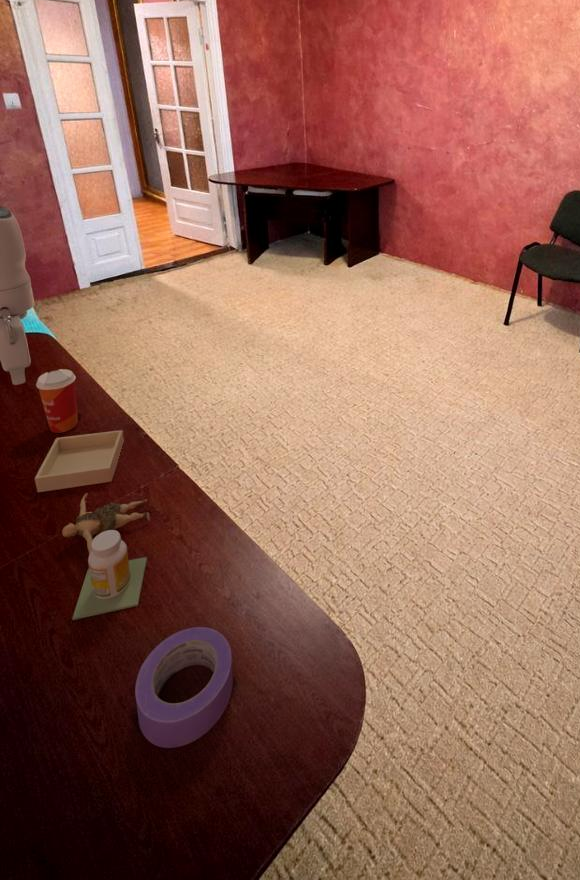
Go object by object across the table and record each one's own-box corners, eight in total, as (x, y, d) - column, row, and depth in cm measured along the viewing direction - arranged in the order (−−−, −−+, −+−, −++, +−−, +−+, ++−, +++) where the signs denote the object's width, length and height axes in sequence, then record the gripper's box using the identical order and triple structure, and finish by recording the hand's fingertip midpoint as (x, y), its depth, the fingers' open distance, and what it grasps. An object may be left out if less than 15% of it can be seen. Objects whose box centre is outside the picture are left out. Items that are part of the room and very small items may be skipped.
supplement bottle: (94, 606, 76) (86, 560, 73) (92, 580, 80) (84, 535, 77) (133, 589, 79) (126, 544, 76) (128, 565, 83) (122, 521, 80)
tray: (37, 492, 97) (34, 478, 96) (58, 450, 109) (56, 437, 108) (111, 481, 101) (109, 467, 100) (124, 442, 113) (122, 429, 112)
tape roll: (218, 634, 73) (216, 610, 72) (245, 708, 65) (244, 682, 63) (131, 683, 66) (127, 657, 65) (148, 772, 58) (144, 746, 56)
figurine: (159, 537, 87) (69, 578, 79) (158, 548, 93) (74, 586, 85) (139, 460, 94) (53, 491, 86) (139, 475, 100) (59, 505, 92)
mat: (72, 620, 74) (72, 618, 74) (88, 570, 82) (88, 568, 82) (138, 605, 77) (137, 603, 77) (147, 558, 85) (146, 556, 85)
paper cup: (42, 424, 117) (32, 374, 113) (79, 414, 122) (71, 365, 118) (47, 441, 112) (37, 388, 107) (86, 429, 117) (78, 378, 112)
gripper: (33, 315, 77) (47, 390, 81) (16, 279, 91) (28, 345, 95) (-19, 324, 73) (-1, 403, 77) (-28, 285, 87) (-13, 354, 91)
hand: (15, 371), depth 86 cm, fingers open, 8 cm apart
